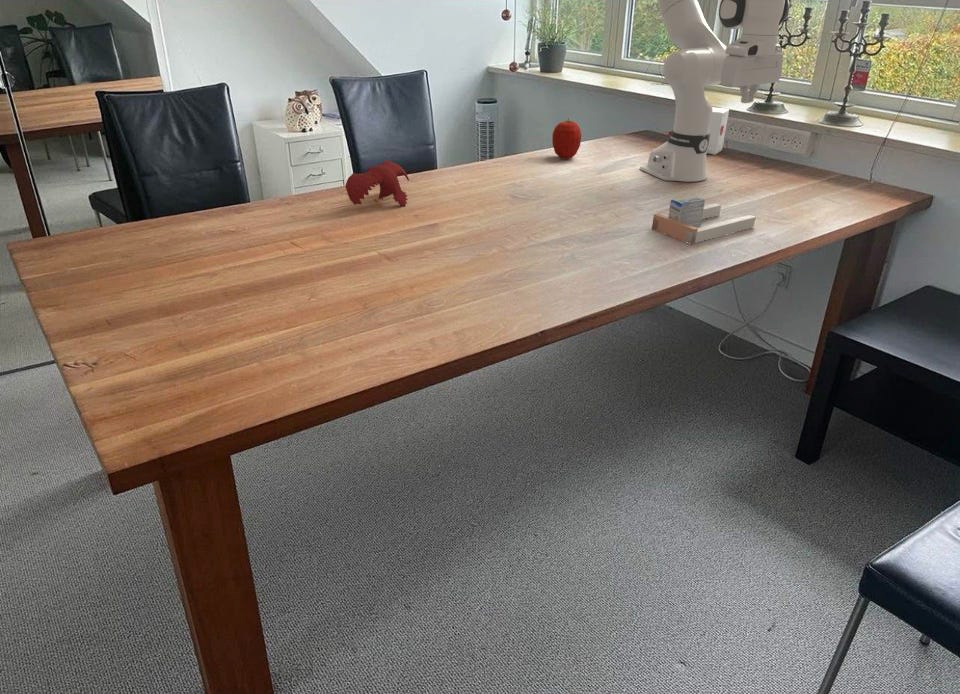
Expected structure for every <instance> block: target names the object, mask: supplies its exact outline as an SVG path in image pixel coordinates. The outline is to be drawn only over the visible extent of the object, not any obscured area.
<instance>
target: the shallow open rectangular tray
mask: <svg viewBox="0 0 960 694" xmlns="http://www.w3.org/2000/svg"><path fill="white" fill-rule="evenodd" d="M721 209H722V204H719V203H715V202H714V203H710V204H707V205H704V209H703V214H702V219H704V220H706V219H705V218H708V219H710V218H709V217H712V218H714V217H713V216H716V217H719V216H720V213H721ZM668 215H669V213H668V214H661V213H658V212H656V213H653V218H652V225H651V230H653V231H656V230H657V231H656V232H659V233H661V234H664V233H665V234H664V235H666V234H667V235H666V236H668V235H670V236H669V237H671V236H672V237H671V238H673V237H675V238H674V239H676V238H677V239H676V240H678V239H680V240H679V241H681V240H683V241H685V242H684V243H686V242H688V243H690V244H689V245H694V244H693V243H695V244H698V243H697V242H699V243H702V242H705V241H704V240H706V241H709V240H708V239H710V240H713V239H712V238H714V239H716V237H717V238H721V237H724V236H723V235H725V236H727V235H726V234H728V235H731V234H730V233H732V234H734V233H733V232H736V233H738V232H737V231H740V232H742V231H741V230H743V231H745V230H744V229H747V230H749V229H748V228H751V229H753V228H752V227H755V224H756V223H755V221H756V216H754V215H751V214H748V215H743V216H739V217H736V218H735V217H734V218H733V219H732V218H731V219H728V220H724V221H720V222H715V223H712V224H708V225H704V226H700V227H699V228H696V227H693V226H691V225H688V224H685V223H683V222H680V221H677V220H675V219H672V218H669V217H668ZM718 215H719V216H718ZM720 236H721V237H720ZM683 241H682V242H683ZM701 241H702V242H701ZM688 243H687V244H688Z"/></svg>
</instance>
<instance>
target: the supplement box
mask: <svg viewBox="0 0 960 694" xmlns="http://www.w3.org/2000/svg"><path fill="white" fill-rule="evenodd" d="M712 109H713V111H712V117H711V123H710V129H709V133H710V139H709V144H708V147H707V151H706V154H708V155H717V154H719V153H720V152H721V151H722V150H723V146H724V141H725V134H726V131H727V125H728V124H727V123H728V119H729V112H730V109H729V108H723V107H722V108H721V107H713V106H712Z"/></svg>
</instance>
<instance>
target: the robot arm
mask: <svg viewBox="0 0 960 694" xmlns="http://www.w3.org/2000/svg"><path fill="white" fill-rule="evenodd" d="M657 2H658V3H657V4H658V7H659V12H660V14H661V18H662V20H663V24H664V26H665V29H666V32H667V34H668V38H669V39H670V42H671V43H672V44H673V45H675V46H677V47H678V48H680V49H679V50H677V51H674V52H672V53H670V54H669V55H668V56H667V57H666V58H665V61H664V63H663V68H662V69H663V70H662V74H663V77H664V81H665V82H666V83H667V84H668V85H669V86H670V87H671V90H672V92H673V94H674V100H675V112H674V113H675V114H674V120H673V121H674V123H673V129H672V130H671V131H666V132H665V136H668V138H667V140H666V141H665V142H664V143H663V144H661V145H659V146H657V147H656V148H654V149H653V150H652V151H651V152H650V153H649V157H648V159H647V160H648V161H647V163H643V164H641V165H640V167H639V170H641V171H643V172H645V173H647V174H650V175H652V176H653V177H656V178H658V179H660V180H663V181H674V182H675V181H677V182H688V183H689V182H702V181H704V180H706V179H708V177H707V176H708V175H707V153H706V151H707V147H708V144H709V139H710V133H709V129H710V123H711V117H712V111H713V109H712V107H713V106H712V104H711V103H710V102H709V101H707V99H706V96H705V86H715V85H716V86H717V85H720V84H721V86H722V87H726V88H739V91H740V94H741V98H740V103H741V104H750V103H753V102H754V101H755V100H754V99H755V95H756V94H757V93H758V91H759V89H760V85H764V84H772V83H773V84H774V83H778V82H779V81H780V79H781V78H782V72H783V71H782V70H783V61H784V57H783V49H782V47H781V45H780V44H777V43H778V40H779V39H778V38H779V33H780V32H779V26H780V25H781V24H783V22H784V21H785V20H786V19H787V17H788V14H789V10H790V0H721V1H720V3H719V7H718V18H719V21H720V23H721V24H722V26H723V27H724V28H726V29H729V30H742V31H741V36H740V37H738V38H737V39H736V40H733V42H731V43H729V44H727V45H725V44H724V43H723V42H722V41H721V40H720V39H719V38H718V37H717V35H716V34H715V33H714V31H712V29H711V28H710V26H709V25H708V22H707V21H706V17H704V14H703V11H702V9H701V6H700V4H699V1H698V0H657Z"/></svg>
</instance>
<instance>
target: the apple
mask: <svg viewBox="0 0 960 694" xmlns="http://www.w3.org/2000/svg"><path fill="white" fill-rule="evenodd" d="M581 131H582V130H581V128H580V126H579V124H578V123H577V122H574V121H572V120H570V118H569V117H568V118H567V120H564V121H561V122H559V123H558V124H557V125H556V126H555V127H554V129H553V131H552V144H551V145H552V148H553V150H554V153H555V155H557V156H558V158H559V159H563V160H571V159H573V158H574V156H576V154H577V153H578V151H579V149H580V147H581V142H582V132H581Z"/></svg>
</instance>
